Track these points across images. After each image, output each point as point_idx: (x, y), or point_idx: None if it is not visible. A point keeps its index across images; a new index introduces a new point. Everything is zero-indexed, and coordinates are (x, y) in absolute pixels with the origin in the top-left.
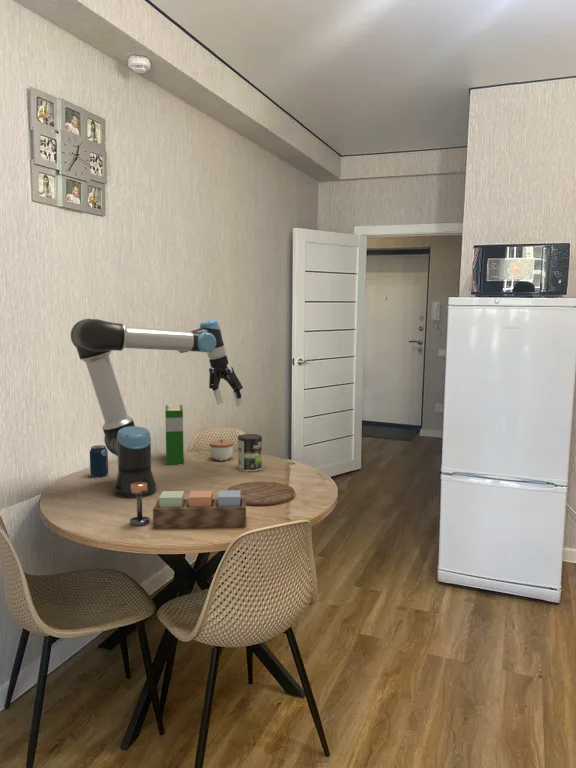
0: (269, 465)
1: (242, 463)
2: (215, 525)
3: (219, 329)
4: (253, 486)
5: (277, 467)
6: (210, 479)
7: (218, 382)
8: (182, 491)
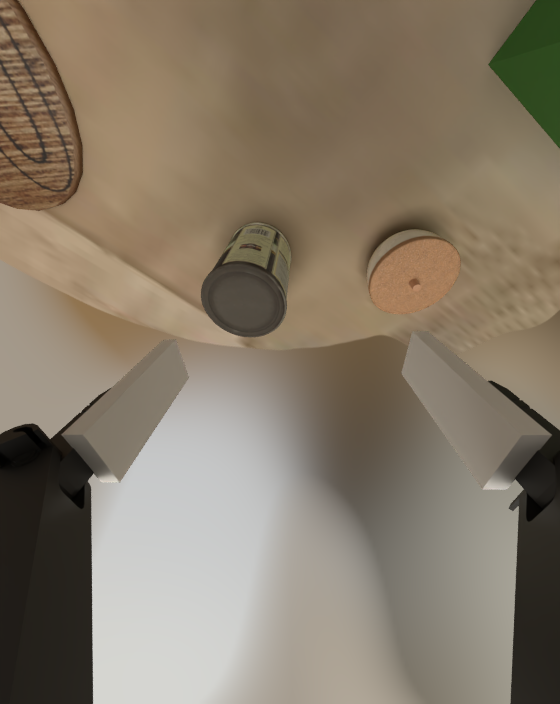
0: None
1: (245, 231)
2: None
3: None
4: (6, 96)
5: None
6: (201, 17)
7: (529, 628)
8: None
